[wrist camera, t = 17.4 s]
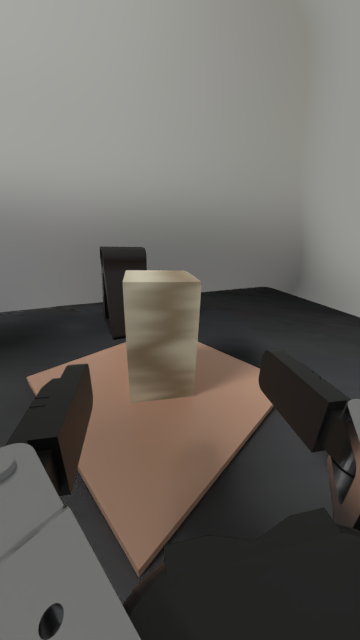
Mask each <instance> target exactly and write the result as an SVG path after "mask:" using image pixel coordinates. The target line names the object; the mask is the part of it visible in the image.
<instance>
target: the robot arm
mask: <svg viewBox="0 0 360 640" xmlns="http://www.w3.org/2000/svg"><path fill="white" fill-rule="evenodd" d="M258 381H259V386H260V389H261V391H262V392H263V393H264V395H265V396H266V397H267V398H268V399H269V401H270V402H271V403H272V404H273V406H274V407H275V408H276V409H277V410H278V412H279V413H280V414H281V415H282V417H283V418H284V419H285V420H286V421H287V423H288V424H289V425H290V426H291V428H292V429H293V430H294V431H295V432H296V434H297V435H298V436H299V437H300V439H301V440H302V441H303V442H304V443H305V445H306V446H307V447H308V448H309V450H310V451H311V452H317V451H323V450H326V452H327V453H328V455H327V458H326V464H327V471H328V477H329V484H330V491H331V497H332V504H333V520H332V518H331V517H330V515H329V514H328V513H327V511H326V510H325V508H321V509H316V510H312V511H308V512H304V513H300V514H295V515H291V516H288V517H287V518H286V519H284V520H283V521H282V522H280V523H279V524H278V525H276V526H275V527H274V528H272V529H271V530H270V531H268V532H267V533H266V534H264V535H263V536H261V537H260V538H258V539H256V540H247V539H238V538H229V537H220V536H211V535H207V536H203V537H198V538H194V539H190V540H186V541H182V542H177V543H173V544H169V545H165V546H164V563H162V564H161V565H159V566H158V567H156V568H155V569H154V570H153V571H151V572H150V573H149V574H148V575H147V576H146V577H145V578H144V579H143V580H142V581H141V582H140V583H139V584H138V585H137V586H136V588H135V589H134V590H133V591H132V593H131V594H130V595H129V597H128V598H127V600H126V601H125V602H124V604H123V605H122V603H121V602H120V600H119V598H118V596H117V594H116V592H115V590H114V589H113V587H112V585H111V583H110V581H109V579H108V578H107V576H106V574H105V572H104V570H103V568H102V566H101V565H100V563H99V561H98V559H97V557H96V555H95V553H94V552H93V550H92V548H91V546H90V544H89V542H88V540H87V539H86V537H85V535H84V533H83V531H82V529H81V527H80V526H79V524H78V522H77V520H76V518H75V516H74V515H73V513H72V511H71V510H70V508H69V507H68V506H67V505H66V506H64V505H63V503H62V501H61V500H60V498H59V496H63V495H69V494H71V492H72V488H73V484H74V480H75V476H76V472H77V468H78V464H79V460H80V456H81V452H82V448H83V444H84V440H85V436H86V432H87V428H88V424H89V420H90V416H91V412H92V407H93V391H92V384H91V377H90V370H89V365H88V364H73V365H67V366H66V368H65V370H64V372H63V374H62V376H61V377H60V378H54V379H52V380H50V381H49V382H48V383H47V384H45V385H44V386H43V387H42V388H41V389H40V391H39V392H38V394H37V396H36V397H35V400H33V402H32V404H31V405H30V407H29V409H28V410H27V412H26V413H25V415H24V416H23V418H22V420H21V421H20V423H19V424H18V426H17V428H16V429H15V431H14V432H13V434H12V436H11V437H10V439H9V440H8V442H7V444H6V445H5V446H4V447H2V448H0V640H360V399H353V400H351V399H350V398H348V397H347V396H346V395H344V394H343V393H342V392H340V391H339V390H338V389H336V388H335V387H334V386H332V385H331V384H330V383H328V382H327V381H326V380H324V379H322V377H320V376H319V375H318V374H317V373H314V371H313V370H311V369H310V368H309V367H307V366H306V365H304V364H302V363H300V362H298V361H296V360H295V359H294V358H292V357H291V356H290V355H288V354H287V353H286V352H284V351H283V350H271V351H265V352H264V354H263V357H262V363H261V368H260V373H259V380H258Z"/></svg>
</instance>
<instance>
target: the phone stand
mask: <svg viewBox="0 0 360 640" xmlns="http://www.w3.org/2000/svg"><path fill="white" fill-rule="evenodd" d="M100 259H101V269H102V290H103V309H104V320H105V322H106V324H107V326H108V329H109V331H110V333H111V335H112V338H113V339H118V338H124V337H126V330H125V315H124V299H123V283H122V282H123V279H124V275H125V272H126V270H147V268H146V251H145V248H142V247H100Z"/></svg>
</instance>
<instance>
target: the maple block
mask: <svg viewBox="0 0 360 640" xmlns="http://www.w3.org/2000/svg"><path fill="white" fill-rule="evenodd" d="M122 283H123V299H124V315H125V330H126V346H127V362H128V377H129V393H130V403H136V402H145V401H155V400H164V399H173V398H183V397H192V396H194V384H195V370H196V355H197V341H198V326H199V311H200V297H201V281H200V280H198V279H197V278H195V277H194V276H192V275H191V274H189V273H188V272H187V271H166V270H165V271H164V270H162V271H160V270H157V271H156V270H155V271H154V270H126V272H125V275H124V279H123V282H122Z"/></svg>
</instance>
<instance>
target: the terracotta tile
mask: <svg viewBox="0 0 360 640" xmlns="http://www.w3.org/2000/svg"><path fill="white" fill-rule="evenodd" d="M73 364H88V365H89V370H90V377H91V384H92V391H93V407H92V412H91V416H90V420H89V424H88V428H87V432H86V436H85V440H84V444H83V448H82V452H81V456H80V460H79V464H78V468H77V470H78V472H79V473H80V475H81V477H82V479H83V480H84V482H85V484H86V486H87V488H88V489H89V491H90V493H91V495H92V496H93V498H94V500H95V502H96V503H97V505H98V507H99V509H100V510H101V512H102V514H103V516H104V517H105V519H106V521H107V523H108V524H109V526H110V528H111V530H112V531H113V533H114V535H115V537H116V538H117V540H118V542H119V544H120V545H121V547H122V549H123V551H124V552H125V554H126V556H127V558H128V559H129V561H130V563H131V565H132V566H133V568H134V570H135V572H136V573H137V575H138V577H140V576H141V575H142V573H143V572H144V571H145V570H146V568H147V567H148V566H149V565H150V563H151V562H152V561H153V559H154V558H155V557H156V556H157V554H158V553H159V552H160V551H161V549H162V548H163V547H164V545H165V544H166V543H167V542H168V540H169V539H170V538H171V537H172V535H173V534H174V533H175V532H176V530H177V529H178V528H179V526H180V525H181V524H182V523H183V521H184V520H185V519H186V518H187V516H188V515H189V514H190V512H191V511H192V510H193V509H194V507H195V506H196V505H197V504H198V502H199V501H200V500H201V499H202V497H203V496H204V495H205V493H206V492H207V491H208V490H209V488H210V487H211V486H212V485H213V483H214V482H215V481H216V479H217V478H218V477H219V476H220V474H221V473H222V472H223V471H224V469H225V468H226V467H227V466H228V464H229V463H230V462H231V460H232V459H233V458H234V457H235V455H236V454H237V453H238V452H239V450H240V449H241V448H242V446H243V445H244V444H245V443H246V441H247V440H248V439H249V438H250V436H251V435H252V434H253V433H254V431H255V430H256V429H257V427H258V426H259V425H260V424H261V422H262V421H263V420H264V419H265V417H266V416H267V415H268V414H269V412H270V411H271V410H272V408H273V407H274V406H273V404H272V403H271V402H270V401H269V399H268V398H267V397H266V396H265V395H264V393H263V392H262V391H261V389H260V386H259V381H258V380H259V373H260V369H259V368H257V367H255V366H252V365H250V364H248V363H246V362H243V361H241V360H239V359H236V358H234V357H232V356H230V355H227V354H225V353H223V352H220V351H218V350H216V349H213V348H211V347H209V346H207V345H204V344H202V343H200V342H197V355H196V370H195V384H194V396H192V397H183V398H173V399H164V400H155V401H145V402H136V403H130V393H129V377H128V362H127V346H126V342H125V343H122V344H119V345H117V346H114V347H111V348H108V349H105V350H102V351H100V352H97V353H94V354H91V355H88V356H85V357H82V358H80V359H77V360H74V361H71V362H68V363H65V364H63V365H60V366H57V367H54V368H51V369H48V370H46V371H43V372H40V373H37V374H34V375H31V376H29V377H26V378H27V382H28V384H29V386H30V388H31V389H32V391H33V393H34V395H35V396H37V394H38V392H39V391H40V389H41V388H42V387H43V386H44V385H45V384H47V383H48V382H49V381H50V380H52V379H54V378H60V377H61V376H62V374H63V372H64V370H65V368H66V366H67V365H73Z"/></svg>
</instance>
